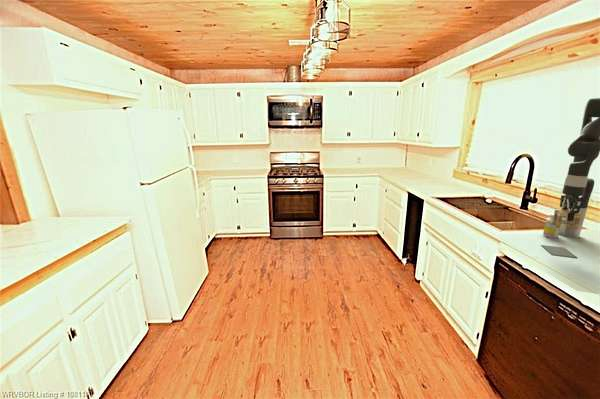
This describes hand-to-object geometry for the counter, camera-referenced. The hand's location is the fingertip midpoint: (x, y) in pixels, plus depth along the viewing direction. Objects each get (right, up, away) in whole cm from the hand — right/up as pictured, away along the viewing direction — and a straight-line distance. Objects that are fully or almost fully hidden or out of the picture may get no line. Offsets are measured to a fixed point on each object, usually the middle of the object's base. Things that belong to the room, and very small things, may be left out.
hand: (566, 218), depth 141 cm
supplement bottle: (+13, -12, +25) cm, 30 cm away
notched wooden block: (0, -4, +1) cm, 4 cm away
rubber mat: (0, -17, +4) cm, 17 cm away
